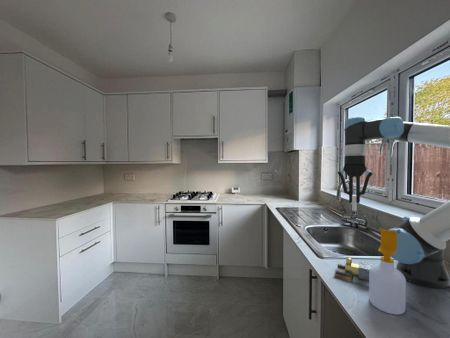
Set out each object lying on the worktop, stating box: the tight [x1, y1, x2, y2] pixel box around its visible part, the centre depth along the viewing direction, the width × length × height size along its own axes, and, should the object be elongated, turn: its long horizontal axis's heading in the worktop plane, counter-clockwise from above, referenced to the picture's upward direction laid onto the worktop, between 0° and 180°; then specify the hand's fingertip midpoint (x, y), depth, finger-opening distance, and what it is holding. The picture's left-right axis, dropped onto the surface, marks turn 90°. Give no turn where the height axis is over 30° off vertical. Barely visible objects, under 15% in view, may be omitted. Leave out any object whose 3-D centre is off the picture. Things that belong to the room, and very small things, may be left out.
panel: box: [334, 266, 369, 288], centre depth 82 cm, size 13×9×1 cm
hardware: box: [334, 260, 377, 282], centre depth 82 cm, size 13×7×5 cm, turn 54°
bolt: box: [345, 256, 359, 276], centre depth 82 cm, size 7×3×5 cm, turn 54°
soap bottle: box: [368, 227, 407, 316], centre depth 66 cm, size 9×9×25 cm
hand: (354, 210), depth 89 cm, fingers closed
